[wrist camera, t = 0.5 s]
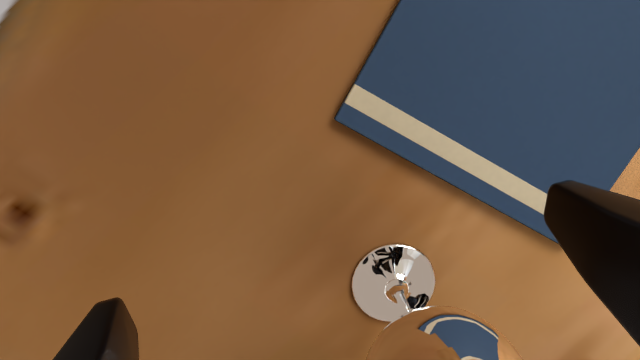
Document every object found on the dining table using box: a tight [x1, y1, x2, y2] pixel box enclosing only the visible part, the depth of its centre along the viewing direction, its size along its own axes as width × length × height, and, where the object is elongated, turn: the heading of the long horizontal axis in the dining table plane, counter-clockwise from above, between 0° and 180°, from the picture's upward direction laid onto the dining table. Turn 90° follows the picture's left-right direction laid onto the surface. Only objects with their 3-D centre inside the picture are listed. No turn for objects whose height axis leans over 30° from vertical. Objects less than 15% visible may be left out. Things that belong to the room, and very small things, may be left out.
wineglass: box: [352, 244, 523, 360], centre depth 19 cm, size 6×6×12 cm
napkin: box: [334, 0, 640, 244], centre depth 22 cm, size 14×14×1 cm
